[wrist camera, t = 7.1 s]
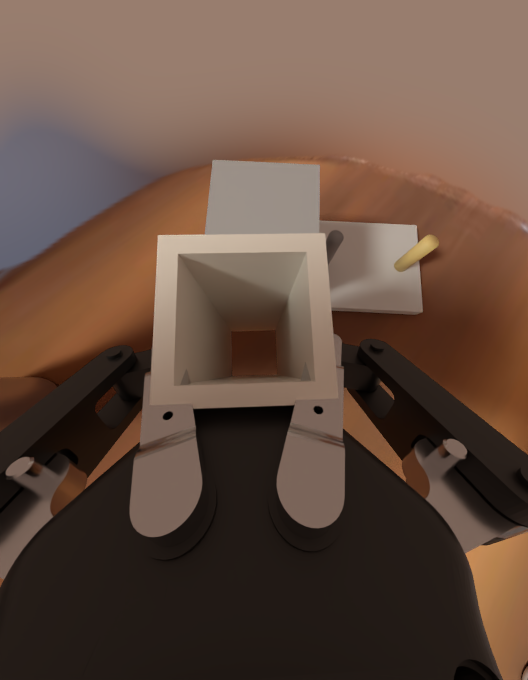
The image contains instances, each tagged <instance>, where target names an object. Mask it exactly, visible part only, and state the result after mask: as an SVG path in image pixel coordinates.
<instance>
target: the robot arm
mask: <svg viewBox="0 0 528 680" xmlns="http://www.w3.org/2000/svg"><path fill="white" fill-rule="evenodd" d="M333 336H334V348H335V360H336V372H337V385H338V397H339V398H337V399H310V400H296V402H295V405H285V406H257V407H229V408H201V409H193V406H192V404H172V405H150V389H151V369H152V349H153V345H152V349H151V350H147V351H143V352H138V353H134V351H133V349H132V348H131V347H130V346H125V345H122V346H116V347H112V348H110V349H107V350H105V351H104V352H102V353H101V354H100V355H98V356H97V357H96V358H94V359H93V360H92V361H91V362H89V363H88V364H87V365H85V366H84V367H83V368H82V369H80V370H79V371H78V372H76V373H75V374H74V375H73V376H71V377H70V378H69V379H67V380H66V381H65V382H64V383H62V384H61V385H60V386H58V387H57V386H56V385H55V384H54V383H53V382H51V381H49V380H47V379H44V378H40V377H6V378H0V578H2V579H4V581H3V583H2V585H1V587H0V680H503V679H502V676H501V674H500V672H499V669H498V666H497V664H496V661H495V658H494V656H493V653H492V650H491V648H490V645H489V641H488V638H487V635H486V632H485V629H484V626H483V622H482V618H481V614H480V610H479V606H478V601H477V595H476V590H475V585H474V580H473V574H472V571H471V568H470V565H469V562H468V560H467V557H466V555H465V553H466V552H468V551H470V550H472V549H474V548H476V547H478V546H480V545H490V544H493V543H496V542H499V541H502V540H505V539H508V538H511V537H514V536H517V535H520V534H523V533H526V532H528V455H527V454H526V453H524V452H523V451H522V450H521V449H519V448H518V447H517V446H516V445H514V444H513V443H512V442H511V441H509V440H508V439H507V438H506V437H504V436H503V435H502V434H501V433H499V432H498V431H497V430H495V429H494V428H493V427H492V426H490V425H489V424H488V423H487V422H485V421H484V420H483V419H482V418H480V417H479V416H478V415H477V414H475V413H474V412H473V411H472V410H470V409H469V408H468V407H467V406H465V405H464V404H463V403H461V402H460V401H459V400H458V399H456V398H455V397H454V396H453V395H451V394H450V393H449V392H448V391H446V390H445V389H444V388H443V387H441V386H440V385H439V384H438V383H436V382H435V381H434V380H432V379H431V378H430V377H429V376H427V375H426V374H425V373H424V372H422V371H421V370H420V369H419V368H417V367H416V366H415V365H414V364H412V363H411V362H410V361H409V360H407V359H406V358H405V357H404V356H402V355H401V354H400V353H398V352H397V351H396V350H395V349H393V348H392V347H391V346H390V345H388V344H387V343H385V342H383V341H380V340H376V339H366V340H363V341H362V342H361V343H360V346H359V347H358V346H353V345H347V344H344V343H342V340H341V338H340V337H339V336H338V335H336V334H334V333H333ZM301 381H311V379H310V376H309V372H308V369H307V365H306V362H305V365H304V369H303V373H302V377H301ZM381 381H382V382H383V383H384V384H385V385H386V386H387V387H388V388H389V389H390V390H391V391H392V393H393V395H394V400H393V398H392V397H391V396H390V395H389V394H388V393H387V392H386V391H385V390H384V389H383V388H382V387H381V386H380V385H379V384H380V382H381ZM190 383H191V381H190V378H189V375H188V372H187V369H186V371H185V373H184V376H183V379H182V381H181V384H180V385H189V384H190ZM112 386H113V388H114V389H115V391H116V392H117V393H116V394H115V395H114V396H113V397H112V398H111V400H110V401H109V402H108V403H107V404H106V405H105V406H104V407H103V408H102V409H101V410H100V411H99V412H98V413H97V414H96V412H95V406H96V403H97V402H98V400H99V399H100V398H101V397H102V396H103V395H104V394H105V393H106V392H107V391H108V390H109V389H110V388H111V387H112ZM344 387H346V388H347V390H348V391H349V393H350V394H351V395H352V397H353V398H354V399H355V401H356V402H357V403H358V404H359V406H360V407H361V408H362V410H363V411H364V412H365V413H366V415H367V416H368V417H369V419H370V420H371V421H372V423H373V424H374V425H375V426H376V428H377V429H378V430H379V432H380V433H381V434H382V435H383V437H384V438H385V439H386V441H387V442H388V443H389V444H390V446H391V447H392V448H393V450H394V451H395V452H396V454H397V455H398V456H399V457H400V459H401V460H402V469H403V473H404V475H405V477H406V482H405V481H404V480H403V479H401V478H400V477H399V476H398V475H397V474H396V473H394V472H393V471H392V470H391V469H390V468H389V467H387V466H386V465H385V464H384V463H383V462H382V461H380V460H379V459H378V458H377V457H376V456H375V455H373V454H372V453H371V452H370V451H369V450H368V449H366V448H365V447H364V446H363V445H362V444H361V443H359V442H358V441H357V440H356V439H355V438H354V437H352V436H351V435H350V434H349V433H348V432H346V431H345V430H344V429H343V389H344ZM141 409H142V422H141V436H140V442H139V443H138V444H137V445H136V446H135V447H133V448H132V449H131V450H130V451H129V452H128V453H126V454H125V455H124V456H123V457H122V458H121V459H119V460H118V461H117V462H116V463H115V464H114V465H113V466H111V467H110V468H109V469H108V470H107V471H106V472H104V473H103V474H102V475H101V476H100V477H99V478H97V479H96V480H95V481H94V482H93V483H92V484H91V485H89V486H88V487H87V488H86V489H85V486H86V483H87V478H88V477H89V475H90V474H91V473H92V472H93V470H94V469H95V468H96V467H97V465H98V464H99V463H100V461H101V460H102V459H103V458H104V456H105V455H106V454H107V453H108V451H109V450H110V449H111V447H112V446H113V445H114V444H115V442H116V441H117V440H118V438H119V437H120V436H121V435H122V433H123V432H124V431H125V430H126V428H127V427H128V426H129V424H130V423H131V422H132V421H133V419H134V418H135V417H136V416H137V414H138V413H139V412H140V410H141ZM84 489H85V490H84Z"/></svg>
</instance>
